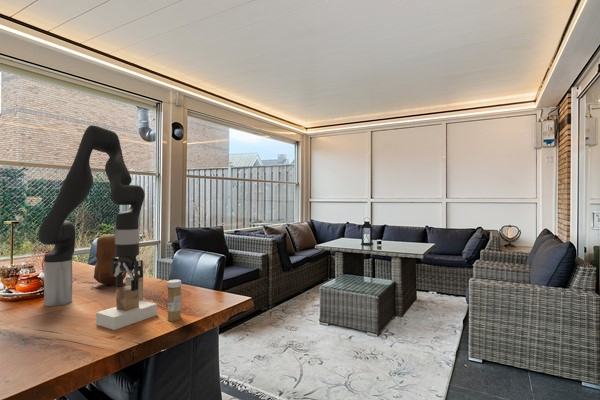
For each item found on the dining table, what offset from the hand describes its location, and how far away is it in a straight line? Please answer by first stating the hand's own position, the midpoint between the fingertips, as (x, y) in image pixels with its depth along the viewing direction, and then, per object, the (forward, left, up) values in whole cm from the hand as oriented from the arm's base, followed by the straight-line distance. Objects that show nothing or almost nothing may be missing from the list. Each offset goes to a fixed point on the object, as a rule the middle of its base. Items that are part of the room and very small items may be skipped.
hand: (126, 288), depth 115 cm
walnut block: (0, 0, -7) cm, 7 cm away
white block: (0, 0, -11) cm, 11 cm away
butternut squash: (-53, +26, -11) cm, 60 cm away
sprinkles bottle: (+14, +8, -11) cm, 20 cm away
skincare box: (-11, +10, -11) cm, 19 cm away
